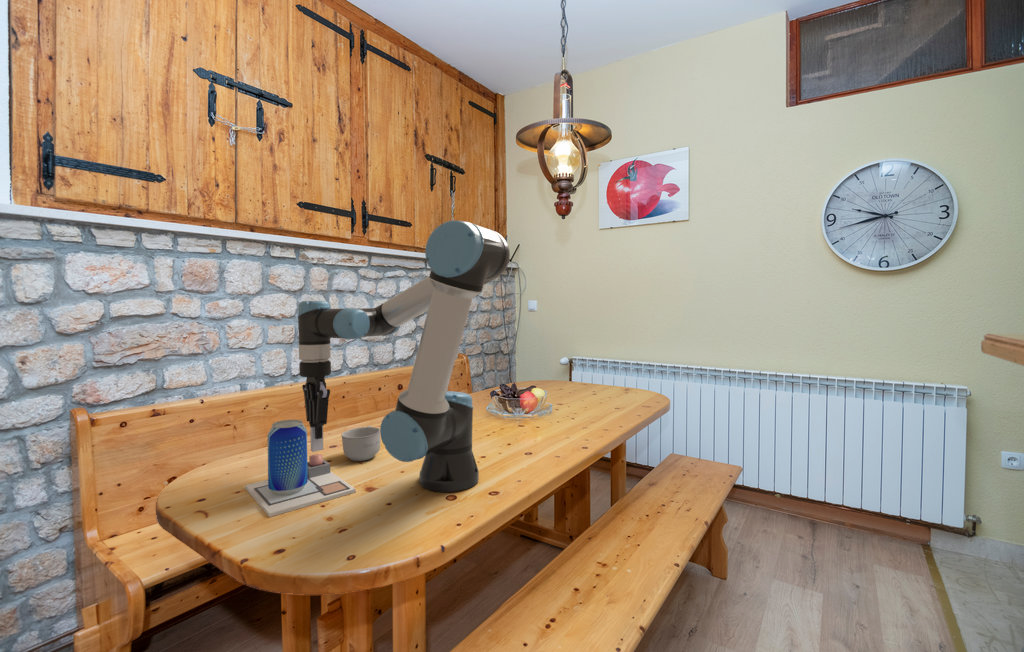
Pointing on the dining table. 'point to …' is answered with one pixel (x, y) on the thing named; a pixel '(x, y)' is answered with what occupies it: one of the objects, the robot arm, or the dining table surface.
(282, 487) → the beer can
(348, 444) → the teacup
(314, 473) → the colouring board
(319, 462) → the button
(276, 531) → the dining table surface
